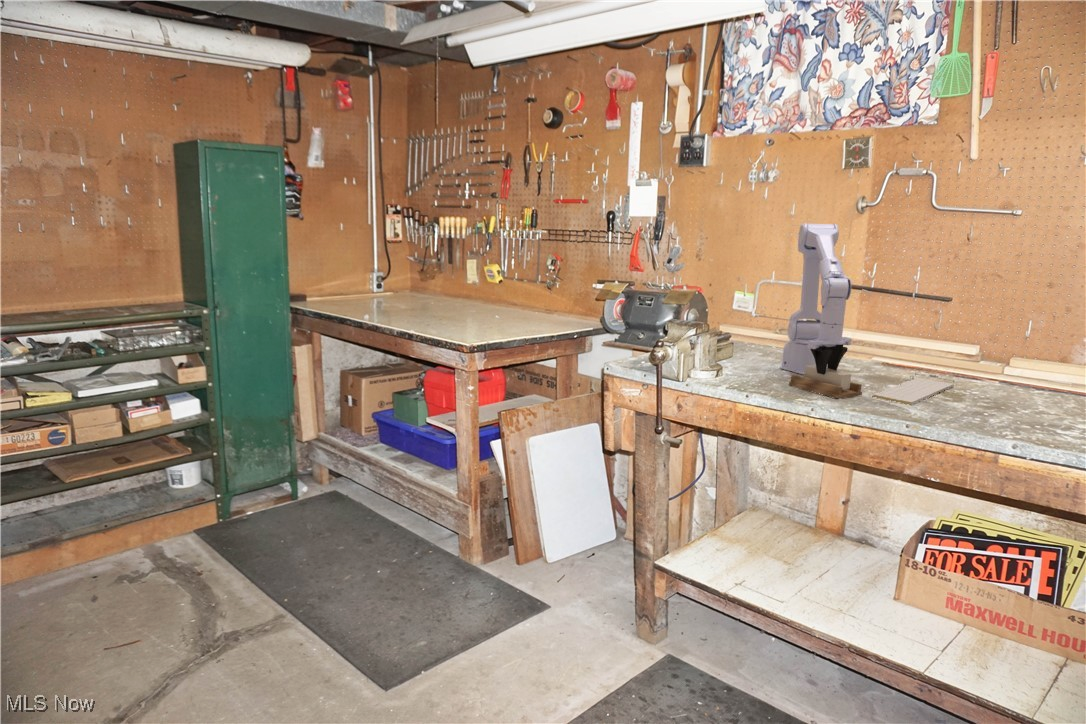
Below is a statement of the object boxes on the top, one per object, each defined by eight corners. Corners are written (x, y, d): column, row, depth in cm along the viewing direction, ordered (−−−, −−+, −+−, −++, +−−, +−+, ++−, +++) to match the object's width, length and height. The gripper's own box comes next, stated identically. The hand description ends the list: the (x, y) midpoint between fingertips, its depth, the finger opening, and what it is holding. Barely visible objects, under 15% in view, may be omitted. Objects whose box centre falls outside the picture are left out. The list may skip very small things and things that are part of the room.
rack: (788, 385, 191) (790, 374, 190) (812, 381, 195) (813, 371, 195) (837, 399, 177) (838, 388, 177) (861, 395, 182) (862, 384, 181)
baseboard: (862, 397, 182) (910, 408, 173) (864, 387, 181) (912, 396, 173) (908, 380, 202) (953, 388, 194) (909, 370, 202) (954, 378, 193)
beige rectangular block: (803, 380, 190) (805, 365, 189) (812, 378, 192) (814, 364, 191) (840, 390, 180) (842, 375, 179) (849, 388, 181) (851, 374, 180)
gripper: (825, 327, 176) (819, 378, 178) (863, 323, 182) (857, 373, 185) (803, 322, 182) (798, 372, 185) (840, 320, 188) (835, 368, 191)
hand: (826, 373), depth 185 cm, fingers closed on beige rectangular block, 4 cm apart
